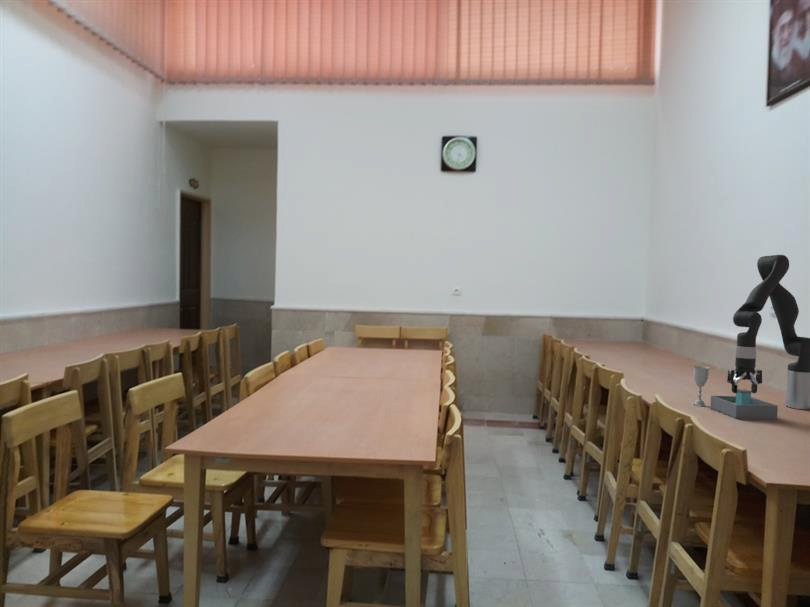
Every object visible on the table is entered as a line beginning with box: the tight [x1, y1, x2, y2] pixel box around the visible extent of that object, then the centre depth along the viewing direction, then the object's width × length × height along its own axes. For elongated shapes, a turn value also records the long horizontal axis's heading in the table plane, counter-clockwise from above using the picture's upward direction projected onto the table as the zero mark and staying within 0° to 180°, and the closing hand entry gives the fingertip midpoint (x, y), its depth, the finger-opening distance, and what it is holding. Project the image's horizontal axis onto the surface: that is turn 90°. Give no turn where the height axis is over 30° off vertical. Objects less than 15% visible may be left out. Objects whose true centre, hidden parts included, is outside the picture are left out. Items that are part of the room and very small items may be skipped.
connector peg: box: [735, 388, 752, 405], centre depth 238 cm, size 4×4×10 cm
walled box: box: [709, 395, 779, 420], centre depth 238 cm, size 18×18×6 cm
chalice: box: [692, 365, 710, 407], centre depth 254 cm, size 7×7×18 cm
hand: (744, 393), depth 238 cm, fingers open, 8 cm apart
